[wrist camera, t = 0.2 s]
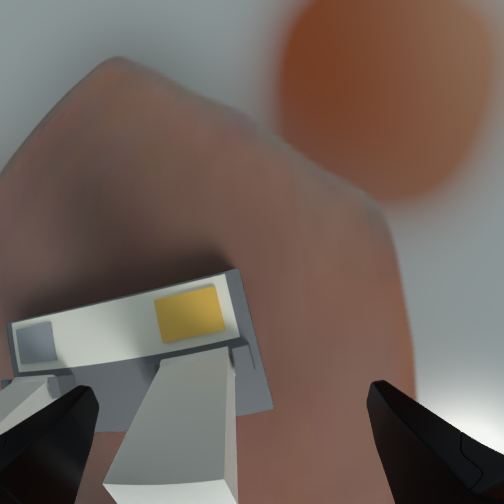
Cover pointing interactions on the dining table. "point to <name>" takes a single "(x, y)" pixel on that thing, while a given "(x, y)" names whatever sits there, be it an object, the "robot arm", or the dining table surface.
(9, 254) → the dining table surface
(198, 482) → the white switch lever
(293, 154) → the dining table surface
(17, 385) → the lever slate
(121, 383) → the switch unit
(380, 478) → the dining table surface
